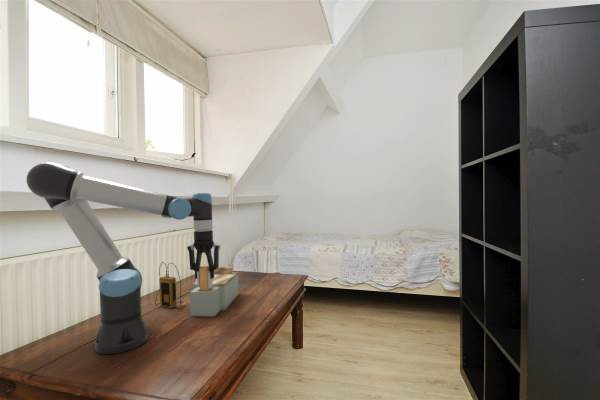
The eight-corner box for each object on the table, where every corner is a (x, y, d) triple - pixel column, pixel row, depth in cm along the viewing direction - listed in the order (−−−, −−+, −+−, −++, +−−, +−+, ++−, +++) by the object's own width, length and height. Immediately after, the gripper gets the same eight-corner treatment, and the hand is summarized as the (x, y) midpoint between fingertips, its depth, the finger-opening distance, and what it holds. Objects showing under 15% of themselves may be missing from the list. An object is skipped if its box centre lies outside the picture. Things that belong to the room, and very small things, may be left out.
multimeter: (194, 302, 140) (193, 259, 140) (177, 309, 131) (176, 263, 131) (171, 298, 146) (170, 257, 146) (153, 305, 137) (152, 261, 137)
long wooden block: (198, 306, 124) (197, 267, 124) (202, 303, 128) (201, 265, 128) (208, 306, 124) (207, 267, 124) (212, 303, 128) (210, 265, 128)
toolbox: (185, 316, 123) (185, 291, 123) (210, 294, 150) (210, 274, 150) (219, 316, 122) (218, 291, 122) (238, 294, 149) (238, 274, 149)
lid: (192, 286, 130) (192, 276, 130) (210, 274, 150) (210, 266, 150) (224, 286, 129) (224, 276, 129) (238, 274, 149) (237, 265, 149)
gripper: (226, 228, 129) (227, 283, 129) (187, 229, 130) (189, 283, 131) (220, 230, 121) (221, 289, 122) (179, 231, 123) (181, 289, 123)
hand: (205, 286), depth 126 cm, fingers closed on long wooden block, 4 cm apart
